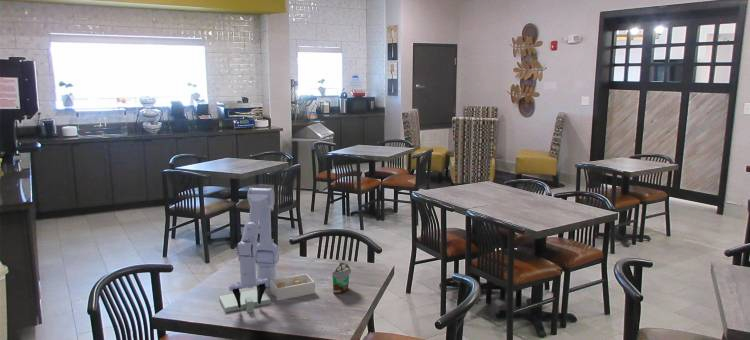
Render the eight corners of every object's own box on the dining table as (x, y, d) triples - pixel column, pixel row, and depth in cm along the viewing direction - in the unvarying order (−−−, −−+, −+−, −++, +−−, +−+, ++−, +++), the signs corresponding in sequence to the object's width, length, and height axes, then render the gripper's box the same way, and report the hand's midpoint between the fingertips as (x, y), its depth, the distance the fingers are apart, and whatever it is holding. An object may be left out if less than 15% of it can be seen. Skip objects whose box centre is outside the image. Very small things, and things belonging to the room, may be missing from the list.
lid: (219, 300, 214) (218, 290, 213) (262, 292, 222) (262, 282, 221) (227, 316, 201) (226, 306, 200) (273, 307, 208) (272, 297, 208)
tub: (270, 291, 223) (270, 280, 222) (306, 284, 230) (306, 273, 229) (277, 300, 214) (277, 289, 213) (314, 293, 221) (314, 282, 220)
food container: (346, 296, 218) (346, 273, 216) (332, 295, 220) (332, 272, 218) (354, 284, 230) (354, 262, 228) (340, 283, 231) (340, 261, 229)
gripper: (230, 278, 196) (232, 312, 199) (269, 272, 203) (270, 305, 206) (226, 271, 203) (228, 305, 205) (264, 265, 209) (265, 298, 212)
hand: (249, 304), depth 206 cm, fingers open, 7 cm apart
